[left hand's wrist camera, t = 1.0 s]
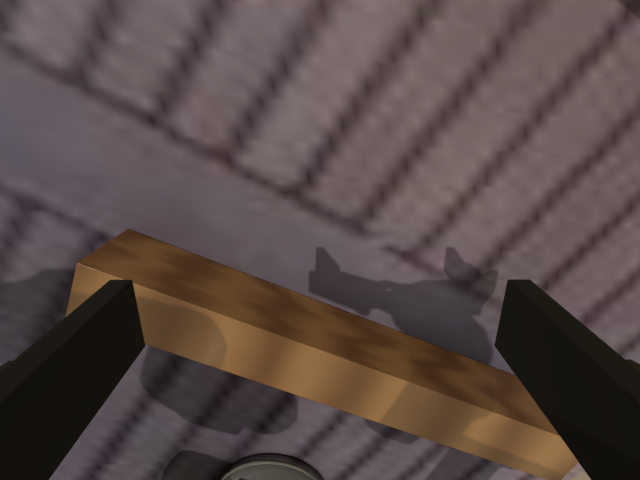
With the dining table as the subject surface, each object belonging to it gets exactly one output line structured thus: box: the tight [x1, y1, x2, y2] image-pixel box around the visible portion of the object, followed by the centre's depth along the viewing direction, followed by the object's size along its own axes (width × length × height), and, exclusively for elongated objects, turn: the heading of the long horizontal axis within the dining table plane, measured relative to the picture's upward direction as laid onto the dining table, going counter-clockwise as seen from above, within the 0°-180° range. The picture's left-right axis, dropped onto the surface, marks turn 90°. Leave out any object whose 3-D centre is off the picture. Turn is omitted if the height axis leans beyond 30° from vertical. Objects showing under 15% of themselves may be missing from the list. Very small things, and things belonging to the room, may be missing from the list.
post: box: [66, 229, 578, 480], centre depth 38 cm, size 51×6×8 cm, turn 67°
